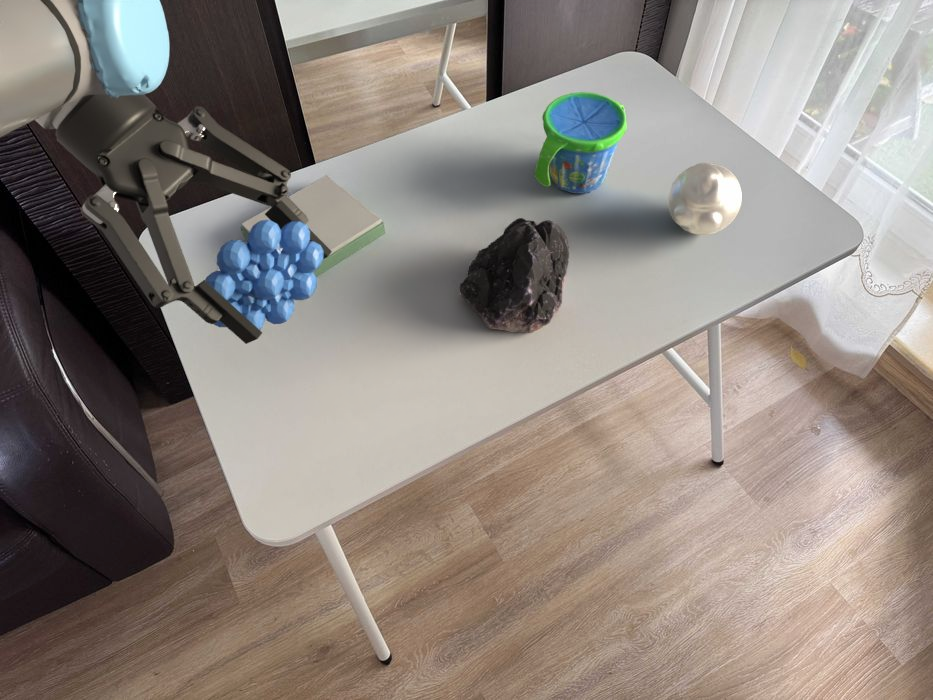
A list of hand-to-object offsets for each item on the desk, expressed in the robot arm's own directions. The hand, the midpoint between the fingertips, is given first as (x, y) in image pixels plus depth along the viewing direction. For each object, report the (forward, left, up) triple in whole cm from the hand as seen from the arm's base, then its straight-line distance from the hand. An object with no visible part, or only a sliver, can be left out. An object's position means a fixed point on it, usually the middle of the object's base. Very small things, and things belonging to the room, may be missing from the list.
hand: (290, 296), depth 65 cm
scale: (+14, +22, -17) cm, 31 cm away
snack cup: (+47, +5, -17) cm, 50 cm away
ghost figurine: (+51, -12, -17) cm, 55 cm away
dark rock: (+26, -4, -17) cm, 31 cm away
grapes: (-1, +3, -5) cm, 6 cm away
